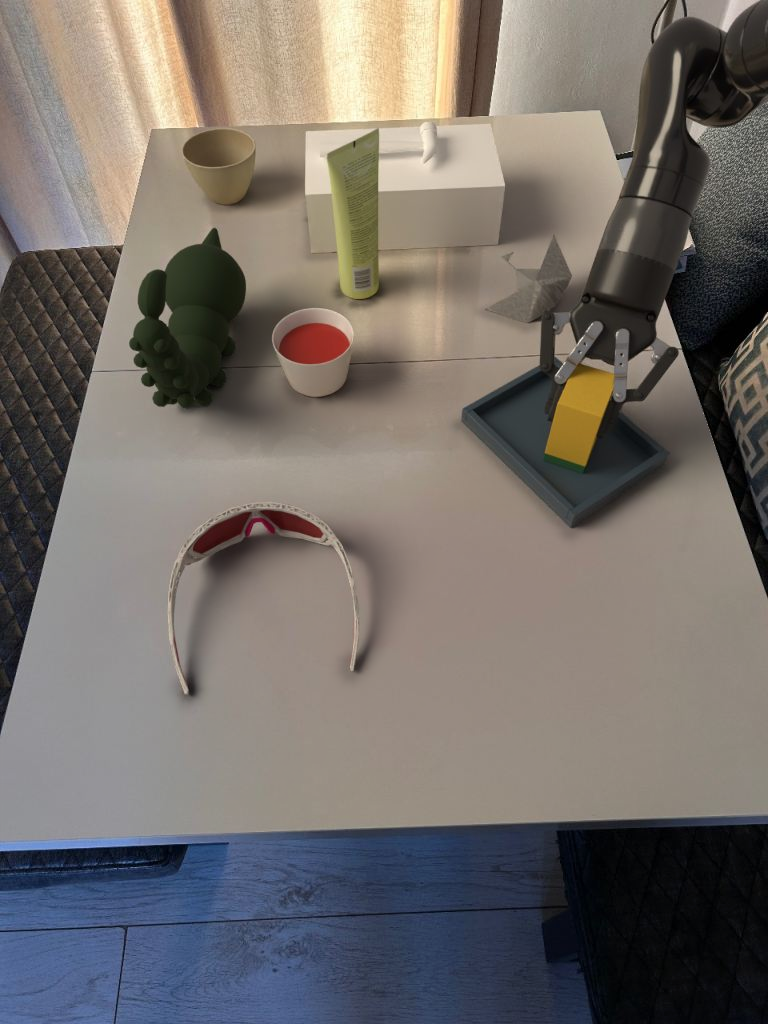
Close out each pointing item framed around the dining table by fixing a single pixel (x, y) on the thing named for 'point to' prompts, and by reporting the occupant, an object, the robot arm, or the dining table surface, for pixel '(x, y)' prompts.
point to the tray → (523, 439)
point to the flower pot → (221, 163)
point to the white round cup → (314, 350)
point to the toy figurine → (188, 323)
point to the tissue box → (416, 186)
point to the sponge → (579, 417)
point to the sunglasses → (239, 525)
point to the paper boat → (536, 287)
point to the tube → (356, 213)
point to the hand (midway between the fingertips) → (575, 428)
